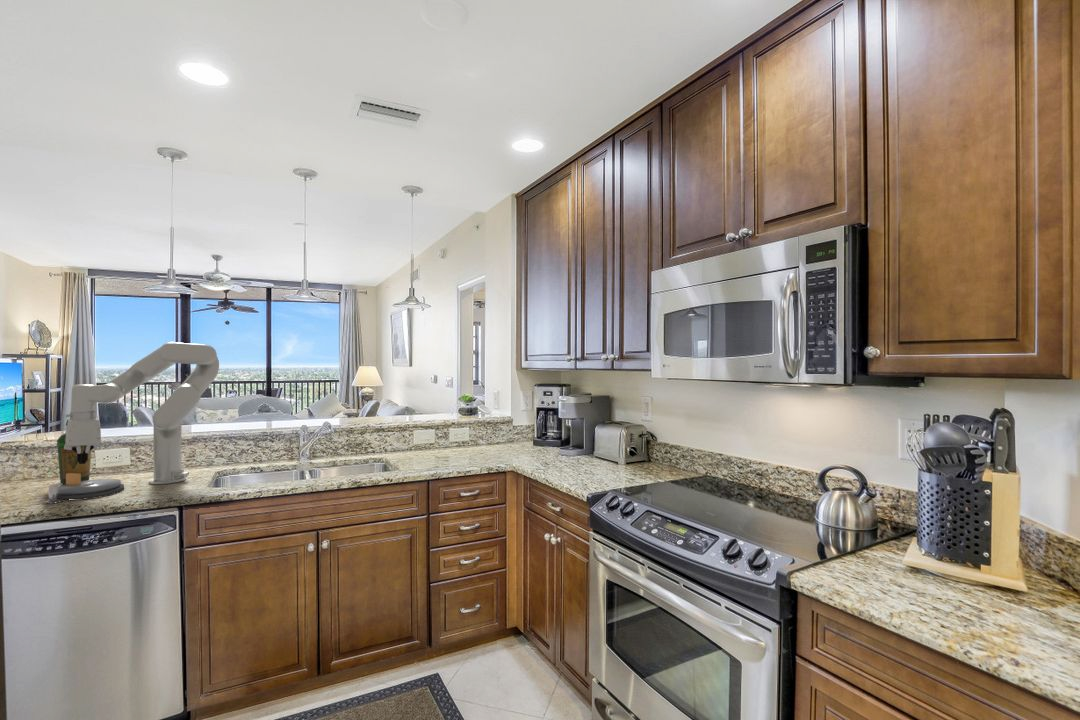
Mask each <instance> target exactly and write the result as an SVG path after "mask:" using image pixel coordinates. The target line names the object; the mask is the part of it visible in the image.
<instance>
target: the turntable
mask: <svg viewBox="0 0 1080 720" xmlns="http://www.w3.org/2000/svg"><path fill="white" fill-rule="evenodd" d="M121 484H122V480H121V479H117V478H100V479H99V478H97V479H89V480H87V481H81V473H68V474H66V484H64V485H59V486H58V495H78V494H88V493H95V492H101V491H106V490H110V489H114V488H117V487H119V486H120V485H121Z"/></svg>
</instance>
